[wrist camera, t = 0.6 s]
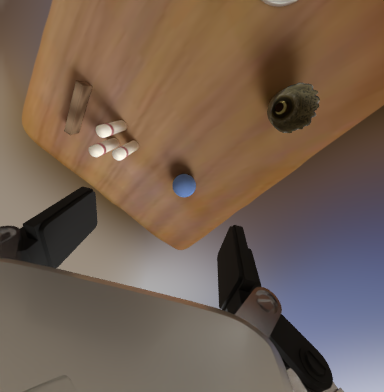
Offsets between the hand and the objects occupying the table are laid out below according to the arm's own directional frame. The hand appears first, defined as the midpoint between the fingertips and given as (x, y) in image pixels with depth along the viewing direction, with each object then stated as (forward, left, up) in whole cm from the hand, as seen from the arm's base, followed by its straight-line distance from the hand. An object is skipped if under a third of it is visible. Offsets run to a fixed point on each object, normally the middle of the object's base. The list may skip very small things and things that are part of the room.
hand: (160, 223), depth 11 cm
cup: (-14, +10, -33) cm, 37 cm away
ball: (+12, +4, -29) cm, 32 cm away
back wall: (+12, -26, -32) cm, 43 cm away
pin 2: (+14, -16, -32) cm, 39 cm away
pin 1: (+9, -16, -32) cm, 37 cm away
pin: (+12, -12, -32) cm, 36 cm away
